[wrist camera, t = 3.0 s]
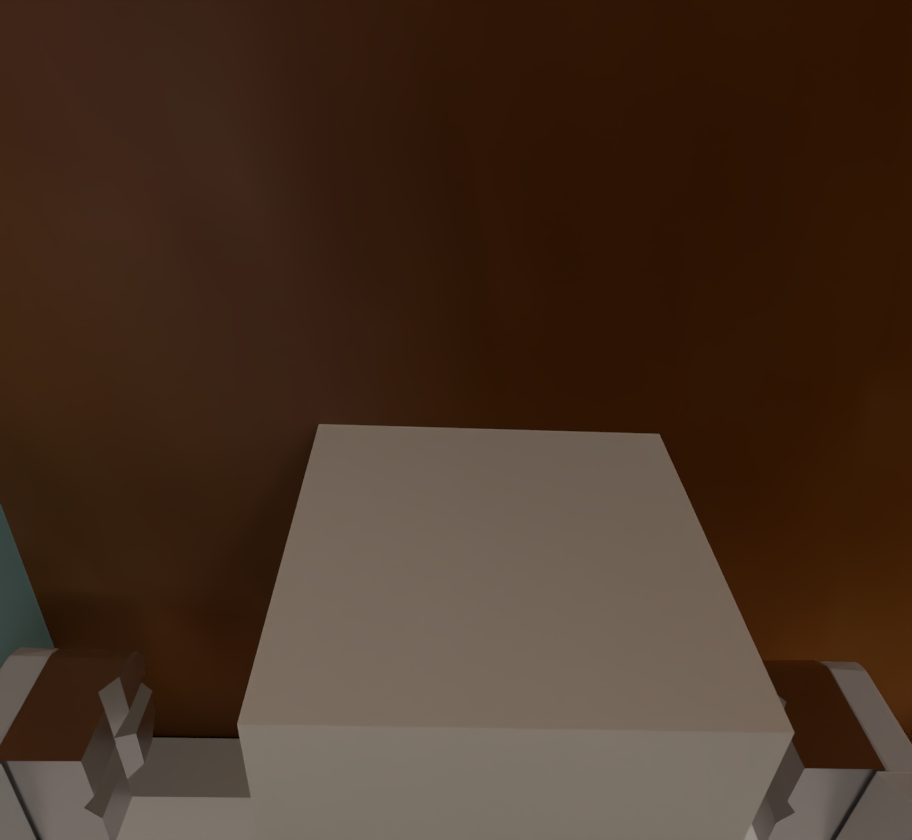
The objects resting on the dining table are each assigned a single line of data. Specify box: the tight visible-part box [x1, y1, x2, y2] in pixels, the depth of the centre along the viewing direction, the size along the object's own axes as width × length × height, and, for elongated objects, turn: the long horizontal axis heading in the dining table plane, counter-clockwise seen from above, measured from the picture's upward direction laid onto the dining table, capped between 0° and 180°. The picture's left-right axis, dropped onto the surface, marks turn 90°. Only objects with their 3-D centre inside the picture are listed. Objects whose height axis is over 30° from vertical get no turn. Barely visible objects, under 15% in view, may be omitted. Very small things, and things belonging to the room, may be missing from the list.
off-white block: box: [237, 424, 795, 840], centre depth 10 cm, size 5×5×5 cm
